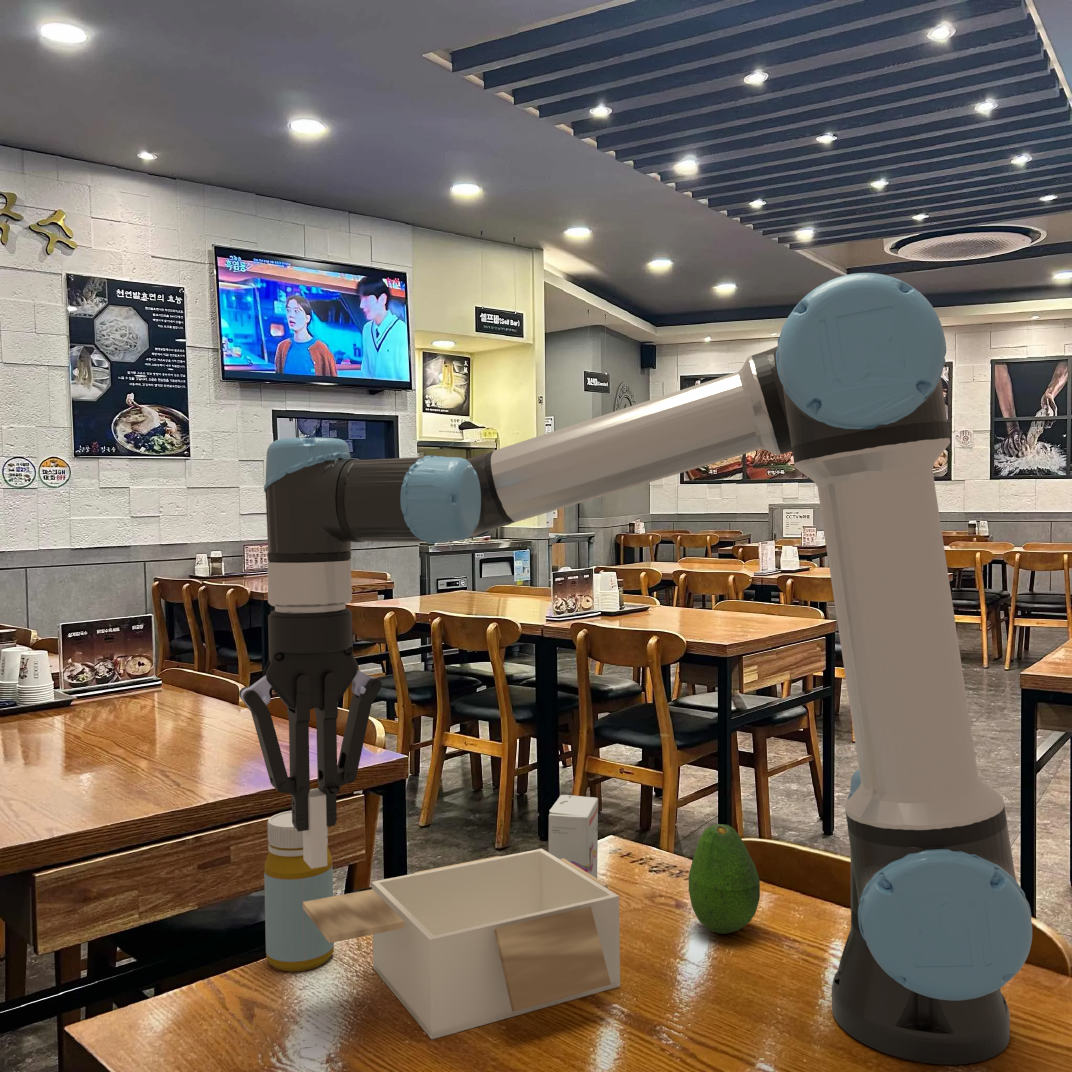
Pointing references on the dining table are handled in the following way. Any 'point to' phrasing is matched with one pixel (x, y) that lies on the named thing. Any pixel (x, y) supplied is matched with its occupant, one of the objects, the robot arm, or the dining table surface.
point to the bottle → (293, 899)
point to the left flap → (352, 915)
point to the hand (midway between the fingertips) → (315, 862)
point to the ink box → (575, 831)
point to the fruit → (723, 881)
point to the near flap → (551, 958)
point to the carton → (479, 933)
